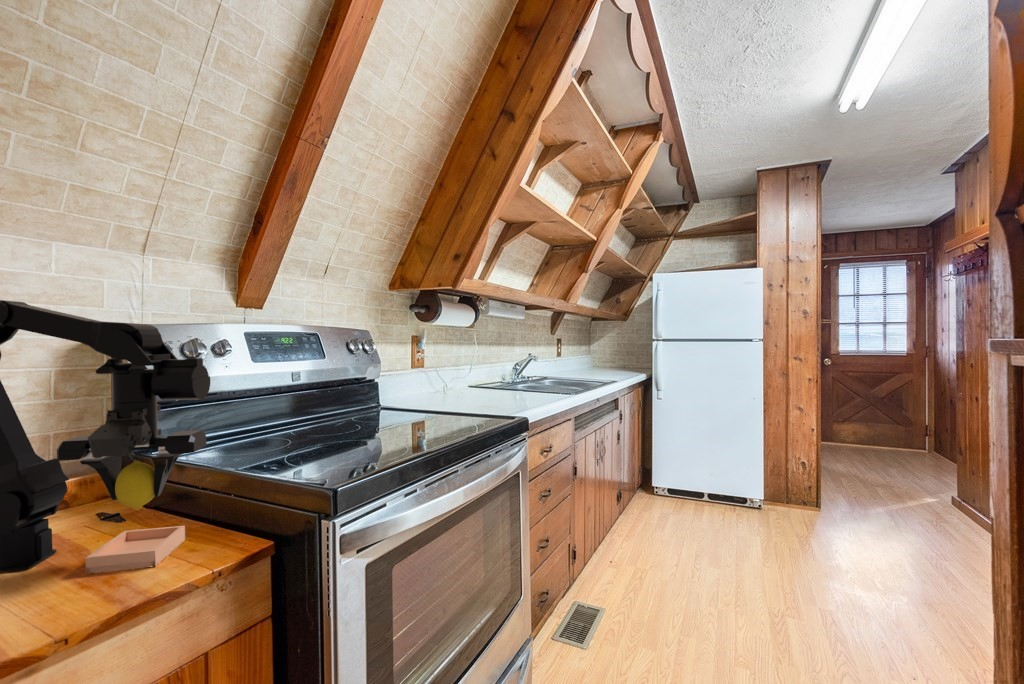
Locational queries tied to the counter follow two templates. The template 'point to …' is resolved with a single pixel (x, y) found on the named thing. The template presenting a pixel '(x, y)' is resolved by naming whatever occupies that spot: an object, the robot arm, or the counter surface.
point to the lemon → (135, 485)
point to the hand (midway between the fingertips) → (136, 497)
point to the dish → (135, 549)
